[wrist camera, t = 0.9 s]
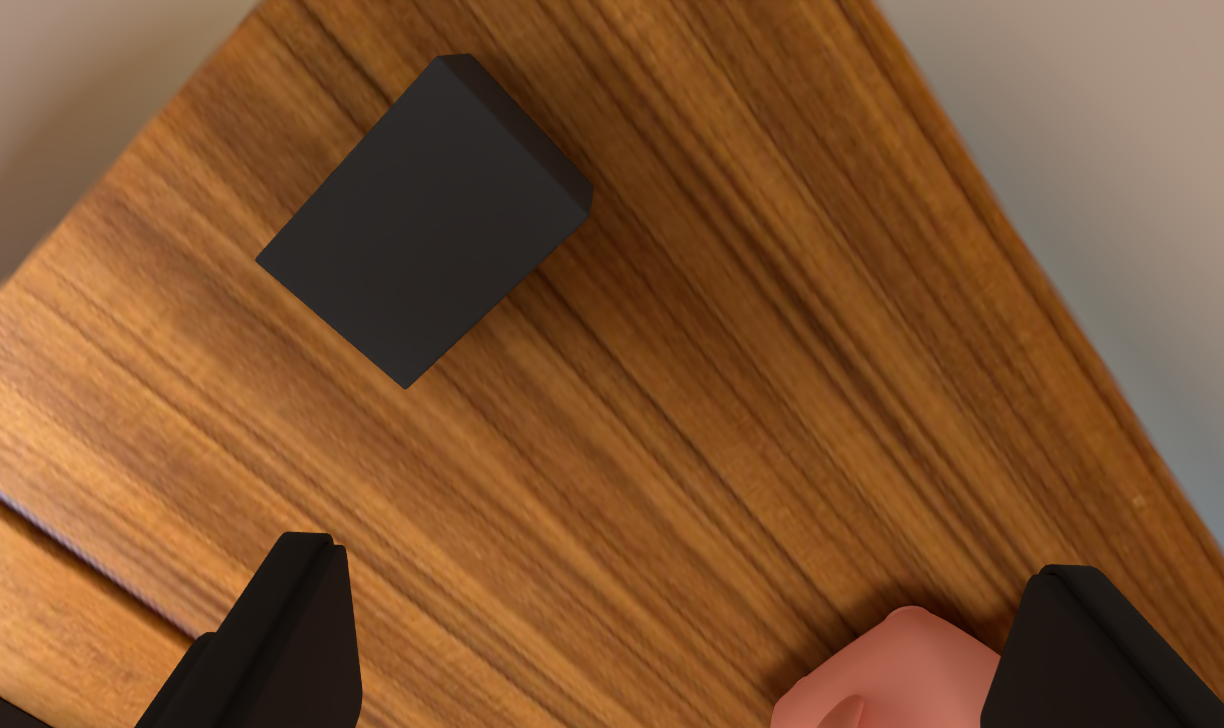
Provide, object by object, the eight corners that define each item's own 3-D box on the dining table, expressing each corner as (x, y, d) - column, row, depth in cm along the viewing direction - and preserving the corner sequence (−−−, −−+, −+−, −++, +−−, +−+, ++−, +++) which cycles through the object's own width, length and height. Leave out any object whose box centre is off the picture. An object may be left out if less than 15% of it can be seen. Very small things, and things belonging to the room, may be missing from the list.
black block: (312, 224, 22) (252, 260, 18) (469, 52, 20) (437, 54, 16) (437, 337, 24) (405, 391, 20) (595, 186, 22) (591, 216, 18)
